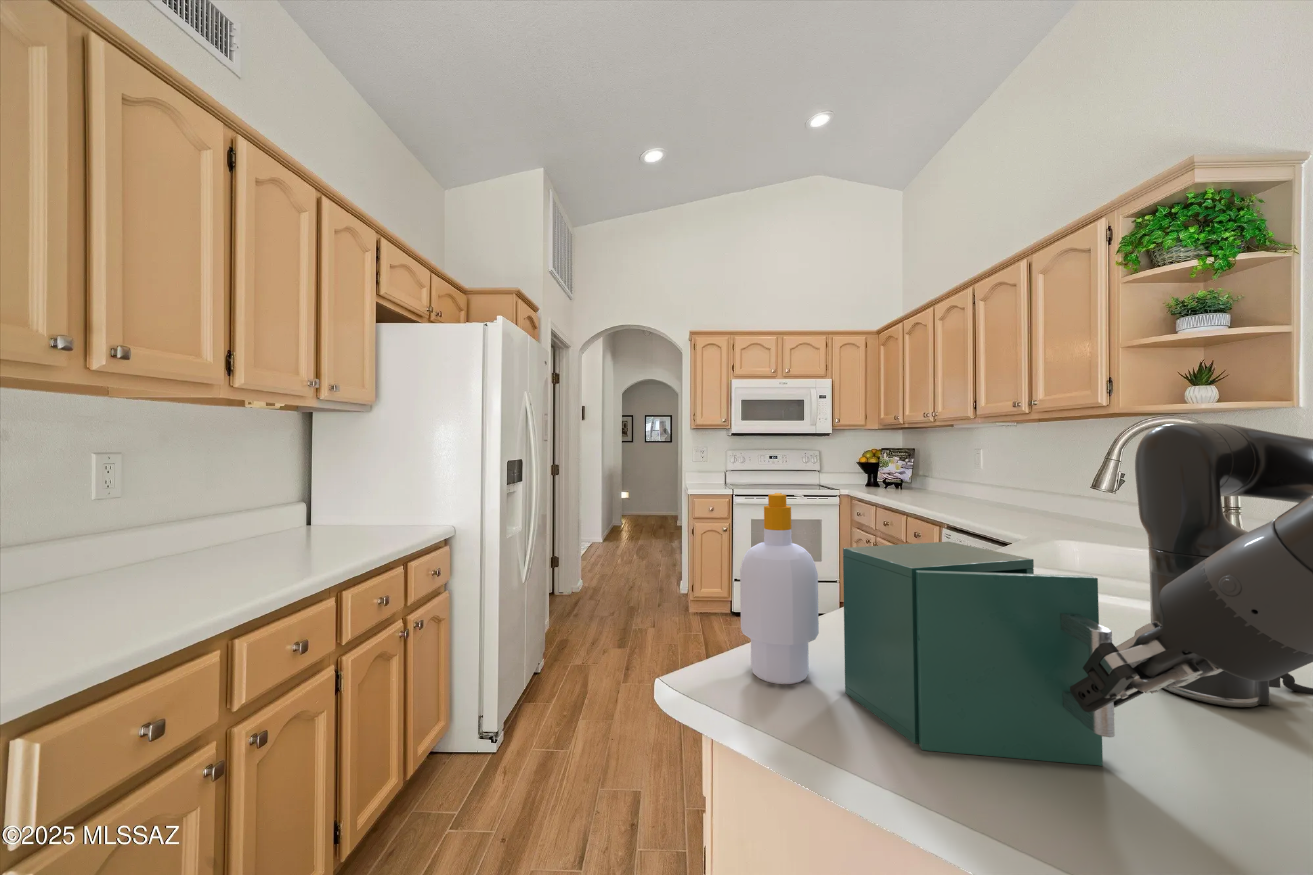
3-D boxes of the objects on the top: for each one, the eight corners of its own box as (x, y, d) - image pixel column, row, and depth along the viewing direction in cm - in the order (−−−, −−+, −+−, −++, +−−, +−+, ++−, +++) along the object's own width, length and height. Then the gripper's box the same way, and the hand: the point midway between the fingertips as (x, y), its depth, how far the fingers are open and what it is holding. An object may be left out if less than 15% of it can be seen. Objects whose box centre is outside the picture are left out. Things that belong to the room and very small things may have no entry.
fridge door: (1143, 802, 45) (1137, 592, 45) (940, 783, 48) (936, 585, 48) (1096, 760, 51) (1091, 575, 52) (918, 744, 54) (915, 570, 55)
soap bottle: (818, 663, 75) (815, 492, 76) (820, 695, 65) (817, 498, 66) (745, 656, 78) (743, 491, 79) (736, 686, 68) (734, 497, 69)
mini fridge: (1037, 723, 58) (1033, 559, 59) (914, 745, 54) (911, 568, 55) (951, 678, 70) (948, 541, 70) (844, 693, 66) (842, 547, 66)
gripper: (1254, 665, 32) (1058, 757, 43) (1401, 641, 35) (1182, 733, 46) (1149, 557, 37) (1000, 665, 48) (1286, 546, 40) (1115, 649, 52)
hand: (1090, 698), depth 47 cm, fingers closed on fridge door
